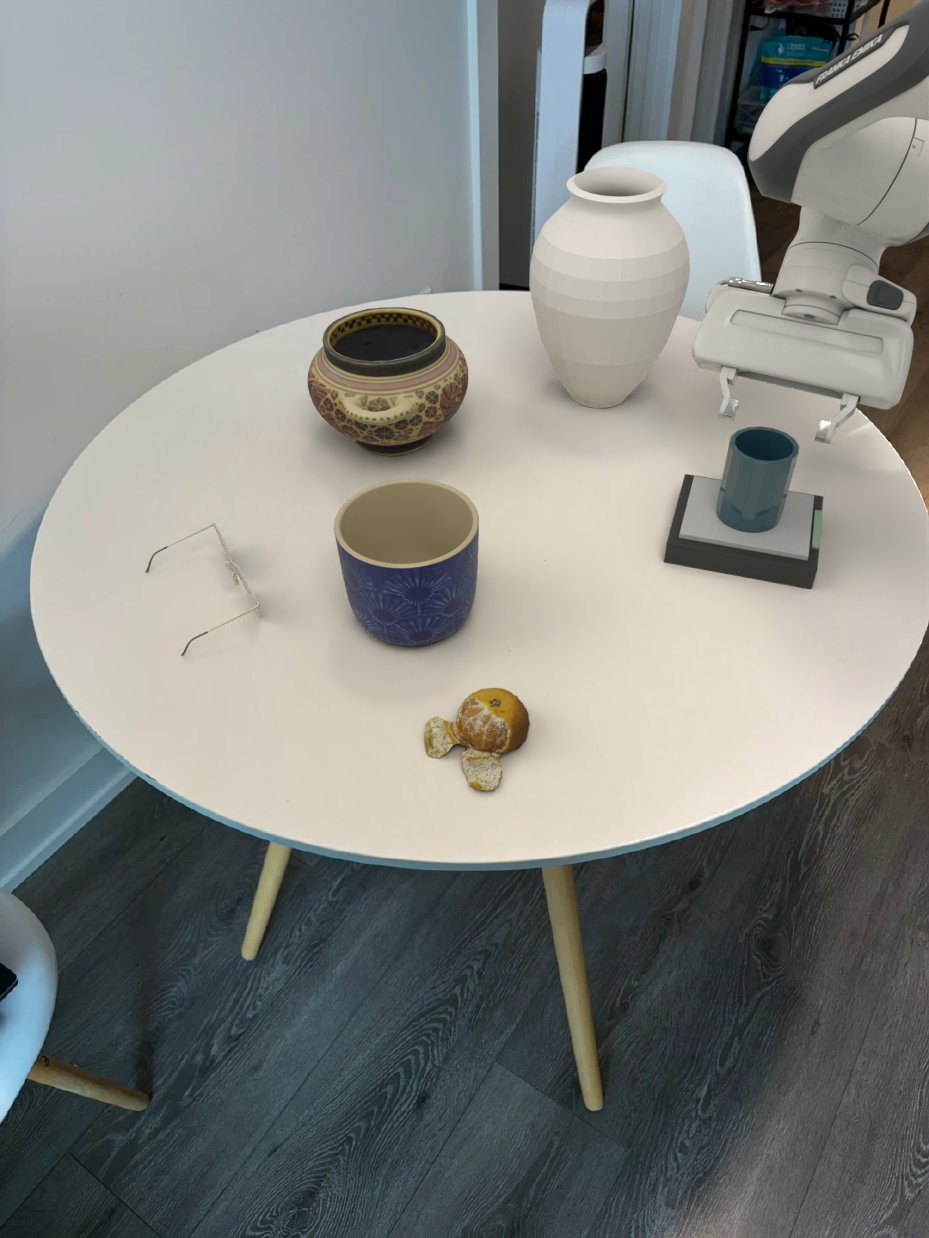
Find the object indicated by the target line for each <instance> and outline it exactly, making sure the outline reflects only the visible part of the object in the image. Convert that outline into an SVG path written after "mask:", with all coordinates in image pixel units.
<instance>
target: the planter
mask: <svg viewBox="0 0 929 1238" xmlns="http://www.w3.org/2000/svg"><path fill="white" fill-rule="evenodd" d="M333 524H334V525H333V532H334V537H335V542H336V548H337V552H338V559H339V564H340V568H341V574H342V579H343V583H344V587H345V592H346V595H347V598H348V602H349V605H350V607H351V610H352V613H353V615H354V617H355V619H356V621H357V622H358V623H359V625H360V626H361V627H362V628H363V629H364V630H365V631H366V632H368V633H369V634H370V635H371V636H373V637H374V638H377V639H379V640H380V641H383V642H386V643H389V644H392V645H398V646H405V647H406V646H410V647H412V646H414V647H415V646H423V645H428V644H432V643H436V642H438V641H440V640H443V639H446V638H447V637H449V636H450V635H452V634H453V633H455V631H457V630H458V629H459V628H460V627H461V626H463V624H464V623H465V621H466V620H467V619H468V617H469V615H470V613H471V611H472V608H473V605H474V602H475V597H476V591H477V582H478V567H479V542H480V541H479V539H480V538H479V537H480V535H479V533H480V532H479V531H480V516H479V512H478V510H477V507H476V505H475V504H474V503H473V501H472V500H471V499H470V498H469V497H468V496H467V495H466V494H465V493H463V492H462V491H460V490H459V489H457V488H456V487H453V486H452V485H449V484H446V483H443V482H440V481H436V480H435V481H434V480H430V479H423V478H402V479H401V478H400V479H393V480H388V481H383V482H380V483H376V484H374V485H373V484H372V485H371V486H368V487H366V488H364V489H362V490H360V491H358V492H357V493H355V494H354V495H352V496H351V497H350V498H348V499H346V501H345V502H344V503H343V504H342V506H341V507H340V508H339V510H338V511H337V514H336V516H335V519H334V523H333Z"/></svg>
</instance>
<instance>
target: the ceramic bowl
mask: <svg viewBox="0 0 929 1238" xmlns="http://www.w3.org/2000/svg"><path fill="white" fill-rule="evenodd" d="M468 386H469V366H468V362H467V360H466V357H465V354H464V353H463V351H462V349H461V348H460V347H459V345H458V344H457V343H456V341H454V340H453V339H452V338H450V337H449V336H447V335H446V329H445V325H444V323H443V322H442V321H441V320H440V319H438V318H437V317H436V315H434V314H431V313H429V312H427V311H425V310H422V309H416V308H410V307H404V306H403V307H401V306H390V307H389V306H388V307H384V306H383V307H382V306H381V307H373V308H366V309H362V310H357V311H354V312H352V313H348V314H346V315H343V316H342V317H339V318H337V319H335V320H334V321H332V323H330V324H329V325H328V326H327V327H326V329H325V330H324V332H323V334H322V346H321V347H320V348H319V349H318V350H317V352H316V353H315V354H314V356H313V357H312V359H311V362H310V365H309V367H308V372H307V389H308V394H309V396H310V399H311V402H312V405H314V408H315V409H316V411H317V412H318V414H319V415H320V416H321V417H322V418H323V419H324V420H325V422H327V424H328V425H330V426H331V427H332V428H333V429H335V430H336V431H337V432H339V433H341V434H342V435H344V436H345V437H348V438H349V439H352V440H354V441H355V443H356V444H357V445H358V446H359V447H360V448H362V449H364V450H365V451H367V452H369V453H372V454H375V455H379V456H385V457H386V456H387V457H389V456H390V457H391V456H393V457H394V456H395V457H396V456H402V455H407V454H410V453H413V452H415V451H418V450H420V449H422V448H423V447H425V446H426V445H427V444H428V443H429V442H430V441H431V439H432V438H433V437H434V434H435V433H436V432H437V431H439V430H440V429H442V428H443V427H444V426H445V425H447V424H448V422H450V420H452V418H453V417H454V415H456V413H457V412H458V411H459V409H460V407H461V405H462V404H463V402H464V401H465V397H466V395H467V390H468Z"/></svg>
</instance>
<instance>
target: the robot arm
mask: <svg viewBox="0 0 929 1238" xmlns="http://www.w3.org/2000/svg"><path fill="white" fill-rule="evenodd" d="M747 164H748V167H749V170H750V173H751V176H752V178H753V181H754V183H755V185H756V187H757V189H758V191H759V193H760V195H761V196H763V197H766V198H769V199H773V200H776V201H780V202H784V203H787V204H791V203H792V204H794V205H798V206H800V207H801V209H800V213H799V225H798V230H797V232H796V234H795V236H794V237H793V240H792V241H791V242H790V243H789V246H788V247H787V249H786V252H785V254H784V257H783V260H782V264H781V267H780V269H779V271H778V275H777V277H776V281H775V283H773V282H772V283H771V282H767V281H760V280H749V279H745V278H743V277H740V276H730V277H729V279H723V280H720V281H718V282H717V283H715V284H714V285H712V287H711V289H710V291H709V293H708V296H707V298H706V302H705V306H704V310H705V315H704V317H703V319H702V321H701V323H700V326H699V328H697V329H698V330H697V332H696V334H695V337H694V339H693V341H692V345H691V356H692V358H693V360H694V362H695V364H696V366H697V367H698V368H699V369H703V370H706V371H713V372H716V373H719V375H718V380H719V384H720V389H721V393H722V401H721V404H720V407H719V410H718V417H719V418H720V419H723V420H724V419H725V420H727V421H733V422H734V421H735V419H736V416H737V415H736V413H737V412H738V411H739V409H740V400H739V399H737V398H732V397H731V392H730V387H734V386H735V385H736V382H737V380H738V378H743V379H748V380H752V381H757V382H761V383H765V384H769V385H774V386H778V387H783V388H787V389H791V390H797V391H800V392H805V393H809V394H813V395H818V396H822V397H827V398H831V399H832V398H833V399H836V400H840V403H839V412H838V413H836V415H835V416H833V418H831V419H830V420H827V419H826V420H825V419H820V422H819V425H818V429H817V430H816V432H815V433H816V434H815V437H814V441H816V442H819V443H823V444H826V445H831V444H832V441H833V438H834V435H835V433H836V430H837V429H838V428H839V427H841V426H842V425H843V424H844V423H845V422H846V421H847V420H849V419H850V418H851V417H852V416H853V415H854V414H855V412H856V409H857V405H863V406H867V407H872V408H876V409H880V410H885V411H888V410H890V409H892V408H893V407H895V406H897V405H898V404H899V403H900V401H901V398H902V396H903V392H904V390H905V386H906V382H907V379H908V375H909V371H910V367H911V361H912V357H913V356H912V355H913V350H914V332H913V329H912V328H911V326H912V324H913V322H914V319H915V317H916V314H917V313H916V312H917V297H916V295H915V294H914V293H913V292H911V291H909V290H908V289H906V288H904V287H901V286H900V285H898V284H896V283H894V282H893V281H890V280H888V279H887V278H885V277H883V276H881V275H879V271H880V262H881V258H882V255H883V252H884V251H885V250H886V249H887V248H889V247H894V248H900V247H902V246H905V245H908V244H911V243H913V242H916V241H918V240H920V239H922V238H925V237H927V236H929V0H921V1H919V2H917V3H915V4H914V5H912V6H911V7H909V8H907V9H906V10H904V11H903V12H901V13H900V14H898V15H897V16H895V17H893V18H892V19H891V20H889V21H888V22H886V23H885V24H883V25H882V26H880V27H879V28H877V29H875V30H874V31H873V32H872V33H870V34H869V35H867V36H866V37H864V38H862V39H861V40H859V41H858V42H856V43H855V44H854V45H853V46H851V47H849V48H848V49H846V50H844V51H843V52H842V53H840V54H839V55H837V56H836V57H835V58H832V60H830V61H829V62H827V63H826V64H824V65H823V66H821V67H814V68H812V69H809V70H807V71H804V72H802V73H800V74H798V75H796V76H794V77H793V78H791V79H789V80H788V81H787V82H785V83H784V84H782V85H781V86H780V87H779V88H778V90H776V92H775V93H774V94H773V96H772V97H771V99H770V100H769V101H768V102H767V104H766V106H765V107H764V108H763V110H762V112H761V114H760V116H759V117H758V120H757V122H756V124H755V126H754V129H753V132H752V135H751V138H750V142H749V145H748V149H747ZM729 386H730V387H729Z"/></svg>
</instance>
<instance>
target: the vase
mask: <svg viewBox="0 0 929 1238" xmlns="http://www.w3.org/2000/svg"><path fill="white" fill-rule="evenodd" d="M565 183H566V184H565V186H566V189H567V190H568V193H569V198H568V200H567V201H565V202H564V203H563V204H562V205H561V206H560V207H559V208H558V209H557V210H556V211H555V212H554V213H553V214H552V215H550V217H549V218H548V219H547V220H546V221H545V222H544V224H543V226H542V228H541V229H540V231H539V234H538V236H537V237H536V240H535V242H534V245H533V249H532V254H531V257H530V258H531V259H530V264H529V265H530V266H529V291H530V295H531V300H532V306H533V310H534V316H535V320H536V321H535V322H536V326H537V330H538V333H539V337H540V340H541V343H542V345H543V347H544V350H545V353H546V355H547V357H548V360H549V362H550V365H551V366H552V368H553V370H554V373H555V376H556V377H557V379H558V380H559V382H560V383H561V385H562V387H564V389H565V390H566V391H567V392H568V393H569V396H570V398H571V399H572V400H573V401H574V402H575V403H577V404H579V405H581V406H584V407H588V408H593V409H594V408H595V409H605V408H606V409H608V408H613V407H615V406H618V405H620V404H623V402H624V401H626V399H627V397H628V396H629V395H630V394H632V393H633V392H634V391H635V390H636V389H637V387H638V386H639V385H640V384H641V383H642V382H643V380H644V379H645V378H646V376H647V374H648V373H649V371H650V370H651V369H652V367H653V366H654V364H655V363H656V361H657V359H658V358H659V357H660V354H661V353H662V351H663V350H664V348H665V347H666V345H667V344H668V341H669V338H670V336H671V333H672V331H673V329H674V326H675V323H676V321H677V318H678V316H679V313H680V311H681V309H682V305H683V303H684V300H685V298H686V295H687V291H688V287H689V280H690V273H691V268H690V267H691V265H690V264H691V263H690V262H691V261H690V249H689V246H688V243H687V238H686V236H685V232H684V229H683V227H682V225H680V223H679V222H678V221H677V219H676V218H675V217H674V215H673V214H672V213H671V212H670V210H669V209H668V208H667V206H666V205H665V204H664V203H663V202H662V197H663V195H664V194H665V192H666V191H667V188H668V185H667V183H666V181H665V180H664V179H662V177H660V176H658V175H656V174H653V173H652V172H649V171H647V170H644V169H640V168H634V167H626V166H603V167H596V168H591V169H587V170H584V171H582V172H579V173H577V174H575V175H573V176H571V177H570V178H569V179H567V181H566V182H565Z"/></svg>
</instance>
